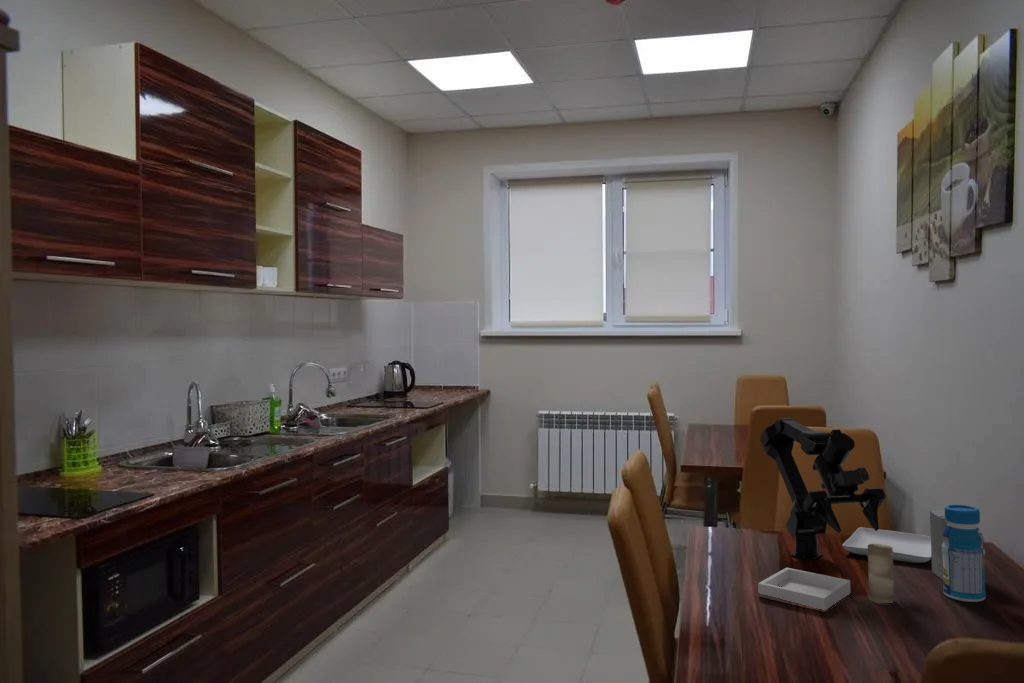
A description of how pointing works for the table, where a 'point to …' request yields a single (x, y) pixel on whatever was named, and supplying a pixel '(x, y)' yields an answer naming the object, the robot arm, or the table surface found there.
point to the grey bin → (805, 588)
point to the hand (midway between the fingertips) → (858, 531)
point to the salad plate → (891, 544)
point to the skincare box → (937, 541)
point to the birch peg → (880, 573)
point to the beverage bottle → (963, 554)
